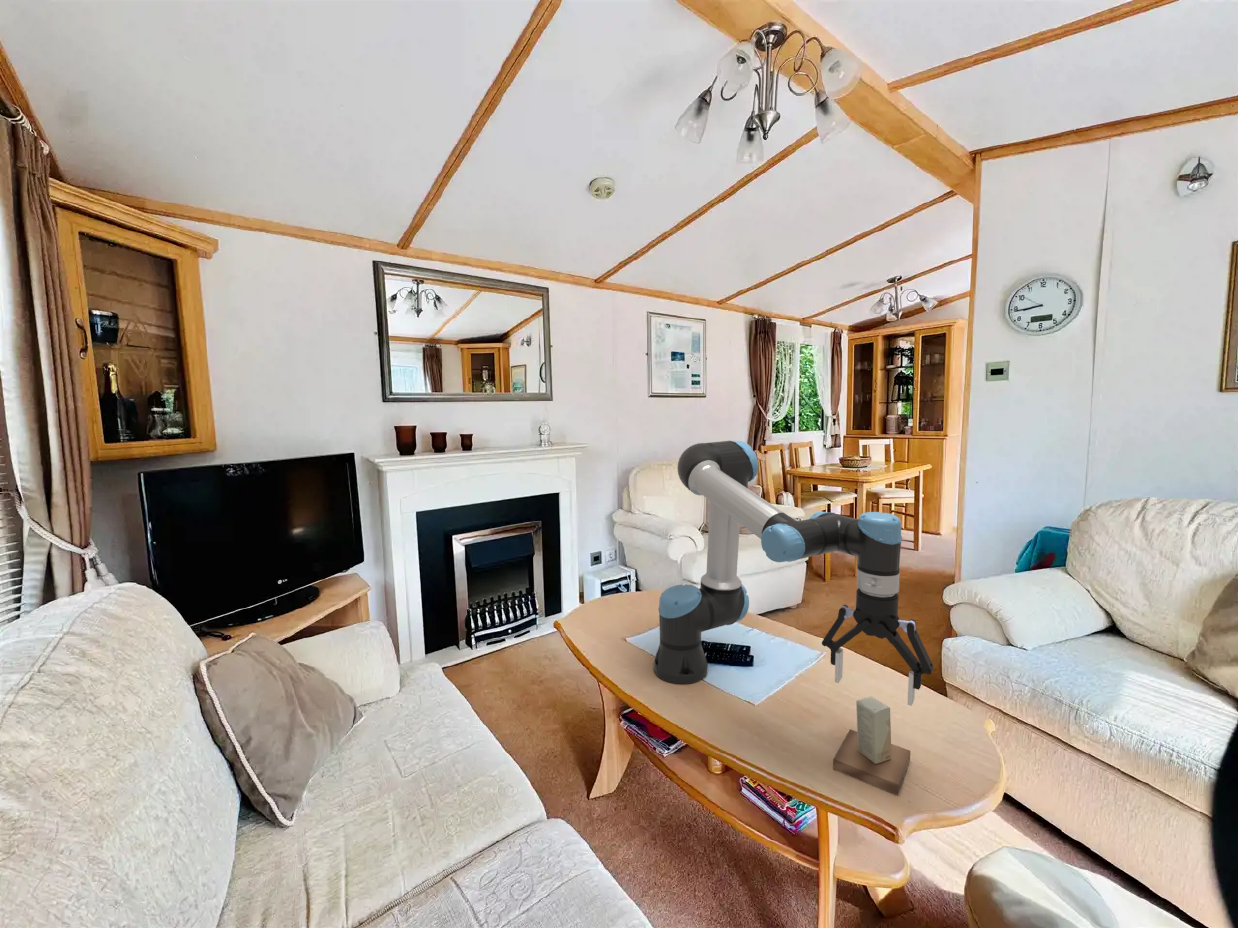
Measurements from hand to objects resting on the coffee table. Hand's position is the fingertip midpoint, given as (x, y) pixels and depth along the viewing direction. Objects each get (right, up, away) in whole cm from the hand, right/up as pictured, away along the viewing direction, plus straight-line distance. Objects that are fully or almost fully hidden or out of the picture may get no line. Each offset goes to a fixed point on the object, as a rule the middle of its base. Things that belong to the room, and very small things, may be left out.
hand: (873, 690), depth 106 cm
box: (+1, -14, +2) cm, 14 cm away
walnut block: (+1, -17, +2) cm, 17 cm away
